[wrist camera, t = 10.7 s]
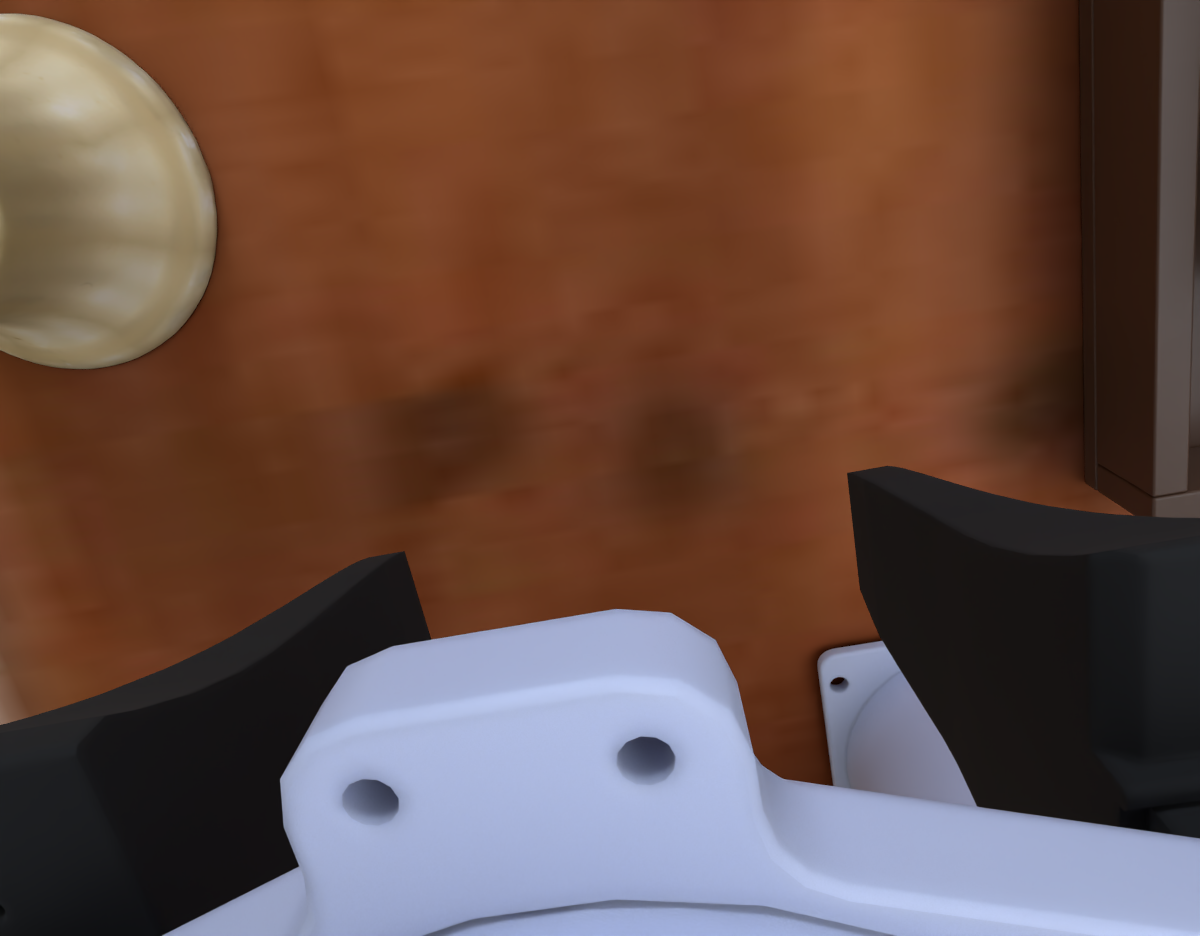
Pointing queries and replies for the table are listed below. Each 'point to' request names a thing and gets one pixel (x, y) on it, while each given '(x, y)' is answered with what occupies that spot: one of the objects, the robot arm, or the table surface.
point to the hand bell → (94, 202)
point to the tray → (1141, 252)
